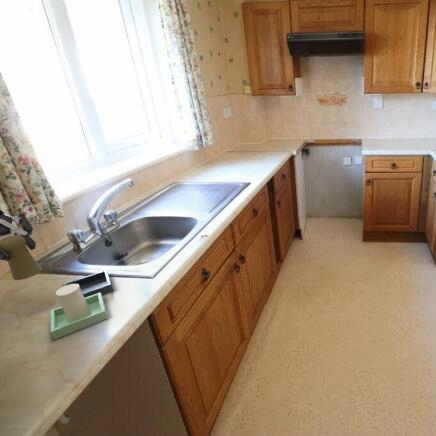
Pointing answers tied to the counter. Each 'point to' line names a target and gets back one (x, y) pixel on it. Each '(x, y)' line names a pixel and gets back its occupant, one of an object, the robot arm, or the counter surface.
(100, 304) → the light tray
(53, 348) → the counter surface
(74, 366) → the counter surface
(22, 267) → the cork
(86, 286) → the dark tray
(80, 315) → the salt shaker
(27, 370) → the counter surface
